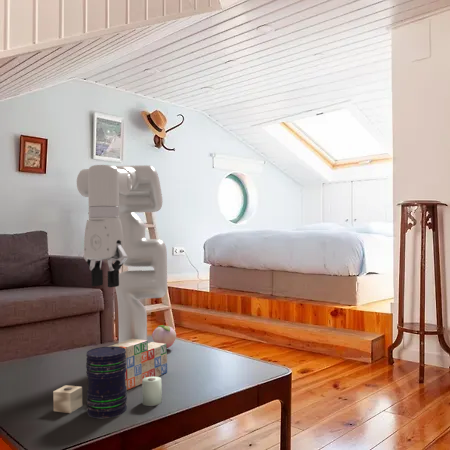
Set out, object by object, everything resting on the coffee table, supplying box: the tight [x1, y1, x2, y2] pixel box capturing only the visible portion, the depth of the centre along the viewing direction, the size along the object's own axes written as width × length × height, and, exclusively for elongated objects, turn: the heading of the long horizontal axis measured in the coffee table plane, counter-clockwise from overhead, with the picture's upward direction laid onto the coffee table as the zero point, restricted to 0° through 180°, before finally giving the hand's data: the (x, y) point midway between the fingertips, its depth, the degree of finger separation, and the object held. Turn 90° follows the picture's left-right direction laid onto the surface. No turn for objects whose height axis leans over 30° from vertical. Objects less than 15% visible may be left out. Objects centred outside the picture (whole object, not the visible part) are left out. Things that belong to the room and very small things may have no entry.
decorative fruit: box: [151, 324, 177, 349], centre depth 177 cm, size 9×8×10 cm
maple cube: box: [52, 384, 83, 414], centre depth 119 cm, size 5×5×5 cm
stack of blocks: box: [106, 339, 168, 391], centre depth 140 cm, size 21×6×12 cm, turn 149°
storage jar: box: [85, 345, 128, 419], centre depth 117 cm, size 10×10×15 cm
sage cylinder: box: [141, 376, 163, 407], centre depth 122 cm, size 5×5×6 cm
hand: (105, 285), depth 117 cm, fingers open, 5 cm apart
